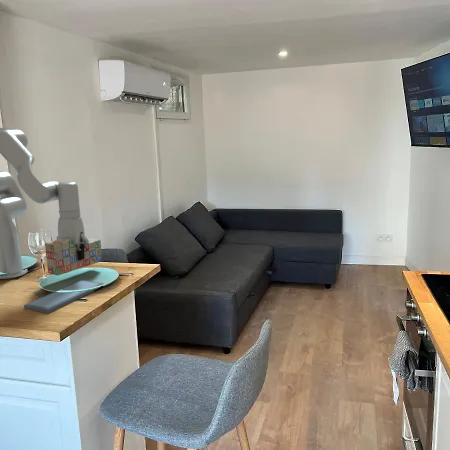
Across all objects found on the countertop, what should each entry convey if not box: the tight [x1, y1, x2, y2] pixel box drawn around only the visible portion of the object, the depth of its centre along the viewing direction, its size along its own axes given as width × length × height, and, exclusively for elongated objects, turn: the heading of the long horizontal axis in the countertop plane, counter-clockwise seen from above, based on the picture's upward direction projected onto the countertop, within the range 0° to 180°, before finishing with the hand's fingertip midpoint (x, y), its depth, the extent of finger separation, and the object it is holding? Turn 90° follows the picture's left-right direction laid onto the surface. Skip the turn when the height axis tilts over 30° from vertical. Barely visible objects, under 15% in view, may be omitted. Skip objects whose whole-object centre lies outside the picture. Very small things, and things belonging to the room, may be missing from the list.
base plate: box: [23, 279, 104, 314], centre depth 158 cm, size 11×26×1 cm, turn 153°
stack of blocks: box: [44, 237, 103, 276], centre depth 179 cm, size 21×6×12 cm, turn 145°
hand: (74, 258), depth 179 cm, fingers closed on stack of blocks, 6 cm apart
